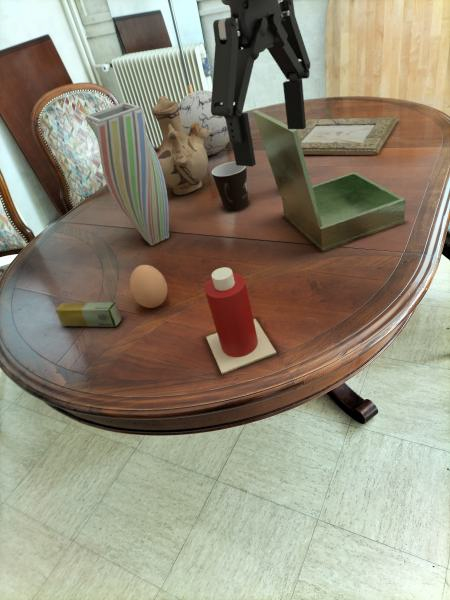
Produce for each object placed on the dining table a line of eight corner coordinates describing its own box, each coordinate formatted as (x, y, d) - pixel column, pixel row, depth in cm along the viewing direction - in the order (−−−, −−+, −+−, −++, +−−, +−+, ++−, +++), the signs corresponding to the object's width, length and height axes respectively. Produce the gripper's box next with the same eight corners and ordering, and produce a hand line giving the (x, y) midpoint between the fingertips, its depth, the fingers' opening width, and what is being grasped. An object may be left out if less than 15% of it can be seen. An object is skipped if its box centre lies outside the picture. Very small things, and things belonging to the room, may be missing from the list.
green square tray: (355, 192, 100) (354, 171, 97) (404, 222, 86) (405, 199, 83) (284, 216, 98) (281, 196, 95) (322, 252, 84) (320, 228, 80)
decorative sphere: (196, 144, 155) (182, 86, 143) (246, 140, 147) (236, 79, 135) (172, 167, 141) (154, 104, 129) (226, 163, 133) (212, 97, 121)
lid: (256, 109, 83) (252, 111, 83) (297, 129, 68) (292, 132, 68) (283, 193, 95) (279, 195, 95) (322, 225, 80) (318, 227, 80)
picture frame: (377, 156, 115) (378, 146, 113) (276, 155, 129) (275, 147, 128) (397, 122, 132) (397, 114, 130) (306, 125, 146) (305, 117, 145)
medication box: (123, 318, 80) (116, 301, 78) (116, 327, 78) (110, 309, 75) (68, 318, 83) (61, 301, 81) (61, 326, 81) (53, 309, 79)
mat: (276, 353, 64) (276, 351, 64) (222, 374, 63) (221, 372, 63) (255, 320, 72) (255, 318, 71) (206, 338, 70) (206, 336, 70)
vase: (142, 259, 96) (90, 126, 78) (122, 240, 106) (72, 117, 88) (192, 235, 100) (154, 103, 82) (168, 218, 110) (130, 98, 92)
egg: (174, 309, 79) (160, 271, 73) (139, 320, 78) (122, 282, 73) (170, 290, 84) (157, 252, 79) (138, 299, 84) (122, 262, 78)
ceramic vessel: (144, 201, 123) (114, 112, 108) (181, 173, 134) (158, 90, 119) (194, 205, 113) (169, 109, 98) (229, 175, 125) (211, 85, 110)
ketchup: (263, 348, 65) (248, 276, 57) (227, 362, 65) (207, 291, 56) (250, 326, 70) (234, 256, 62) (216, 338, 69) (196, 270, 61)
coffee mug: (232, 196, 113) (224, 160, 107) (259, 199, 108) (252, 162, 102) (206, 217, 106) (197, 180, 100) (233, 221, 101) (225, 183, 95)
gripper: (277, -50, 56) (294, 115, 68) (147, -20, 42) (198, 180, 55) (330, -65, 51) (336, 115, 64) (203, -36, 37) (244, 185, 50)
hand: (273, 145), depth 59 cm, fingers open, 13 cm apart
